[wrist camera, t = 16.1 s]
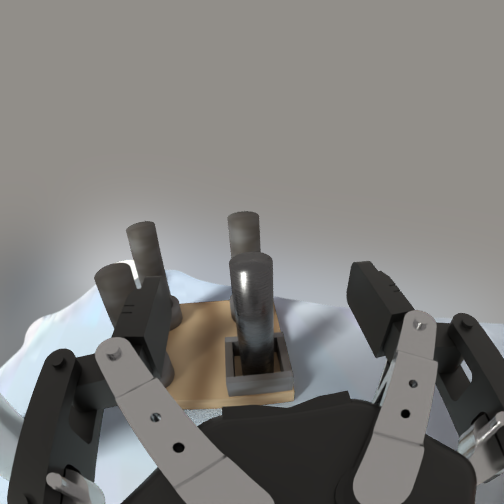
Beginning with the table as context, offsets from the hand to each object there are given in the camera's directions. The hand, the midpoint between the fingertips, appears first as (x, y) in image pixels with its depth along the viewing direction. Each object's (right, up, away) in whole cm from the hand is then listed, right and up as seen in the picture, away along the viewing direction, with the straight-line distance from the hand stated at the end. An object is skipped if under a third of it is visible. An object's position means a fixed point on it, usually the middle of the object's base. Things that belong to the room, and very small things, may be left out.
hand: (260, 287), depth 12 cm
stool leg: (0, -12, +18) cm, 21 cm away
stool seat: (-6, -12, +23) cm, 27 cm away
